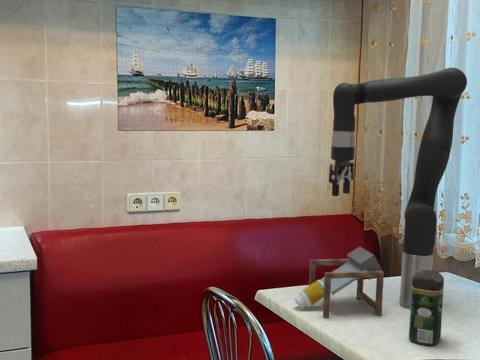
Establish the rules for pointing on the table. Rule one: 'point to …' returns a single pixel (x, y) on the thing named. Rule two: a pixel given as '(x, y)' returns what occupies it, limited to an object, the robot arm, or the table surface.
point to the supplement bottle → (310, 294)
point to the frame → (357, 274)
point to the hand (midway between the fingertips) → (340, 194)
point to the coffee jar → (426, 307)
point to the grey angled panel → (354, 268)
